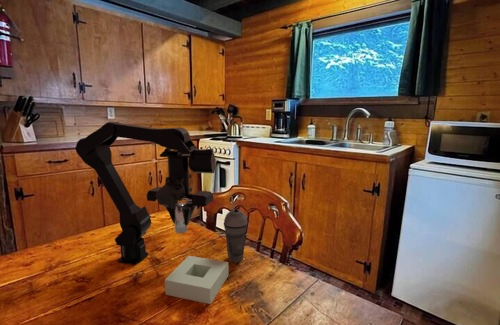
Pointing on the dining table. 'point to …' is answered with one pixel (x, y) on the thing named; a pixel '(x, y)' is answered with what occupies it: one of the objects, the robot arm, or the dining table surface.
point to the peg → (179, 218)
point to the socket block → (197, 279)
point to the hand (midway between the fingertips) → (180, 224)
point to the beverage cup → (235, 234)
